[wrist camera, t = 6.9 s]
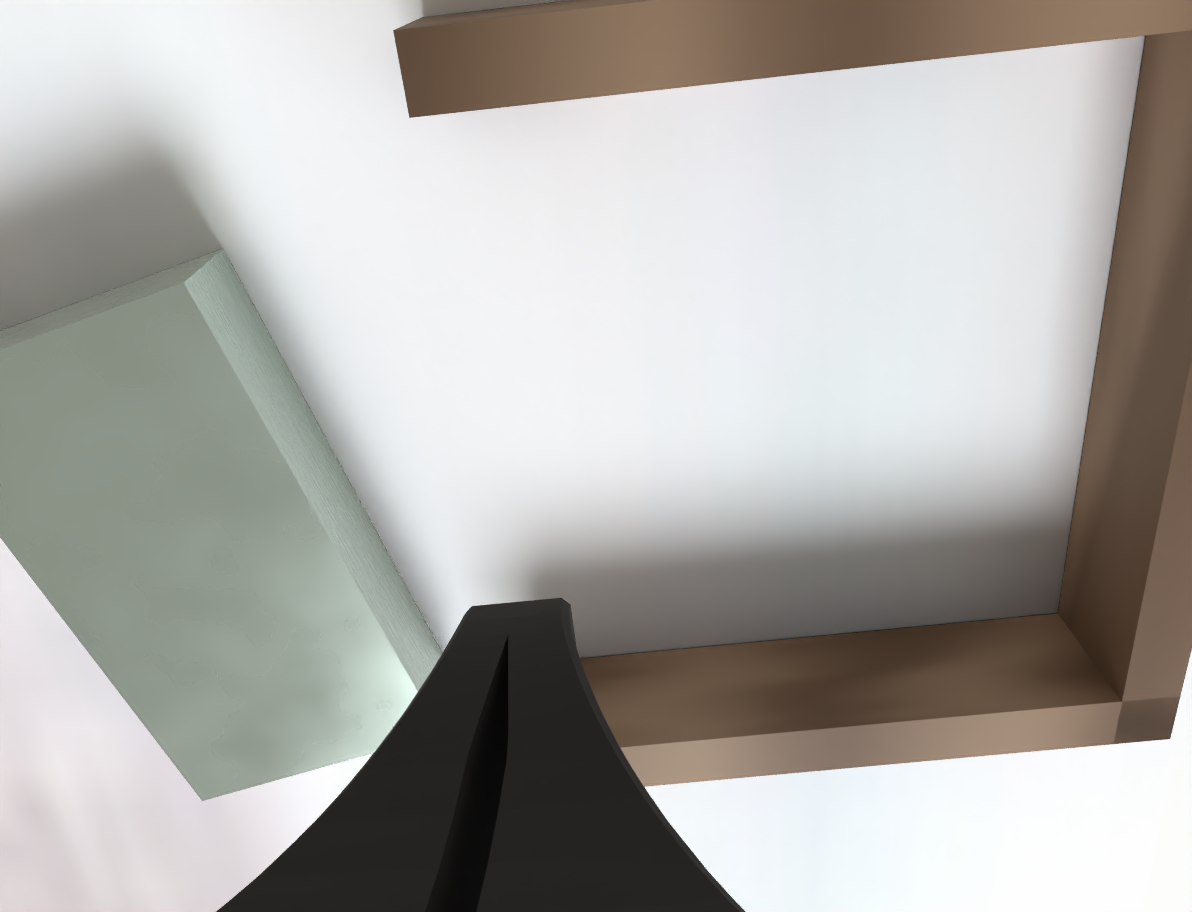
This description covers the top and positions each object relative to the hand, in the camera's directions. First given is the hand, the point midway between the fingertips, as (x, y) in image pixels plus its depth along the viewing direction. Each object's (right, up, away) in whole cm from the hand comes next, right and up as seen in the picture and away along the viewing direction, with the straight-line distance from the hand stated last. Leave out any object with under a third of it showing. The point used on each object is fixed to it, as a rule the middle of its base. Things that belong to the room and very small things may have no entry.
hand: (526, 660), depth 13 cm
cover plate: (-7, +1, +8) cm, 11 cm away
